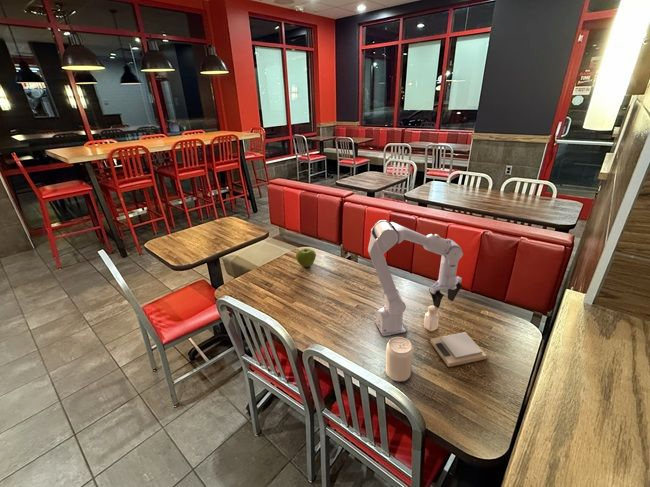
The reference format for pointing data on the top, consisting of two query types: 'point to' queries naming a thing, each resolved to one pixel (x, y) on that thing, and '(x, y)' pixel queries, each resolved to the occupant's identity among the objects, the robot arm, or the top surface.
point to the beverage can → (399, 358)
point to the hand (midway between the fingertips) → (443, 303)
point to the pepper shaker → (431, 319)
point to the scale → (457, 349)
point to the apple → (306, 257)
